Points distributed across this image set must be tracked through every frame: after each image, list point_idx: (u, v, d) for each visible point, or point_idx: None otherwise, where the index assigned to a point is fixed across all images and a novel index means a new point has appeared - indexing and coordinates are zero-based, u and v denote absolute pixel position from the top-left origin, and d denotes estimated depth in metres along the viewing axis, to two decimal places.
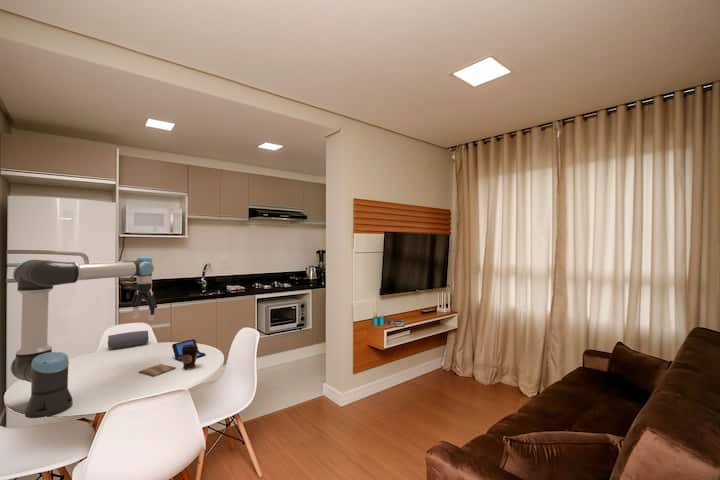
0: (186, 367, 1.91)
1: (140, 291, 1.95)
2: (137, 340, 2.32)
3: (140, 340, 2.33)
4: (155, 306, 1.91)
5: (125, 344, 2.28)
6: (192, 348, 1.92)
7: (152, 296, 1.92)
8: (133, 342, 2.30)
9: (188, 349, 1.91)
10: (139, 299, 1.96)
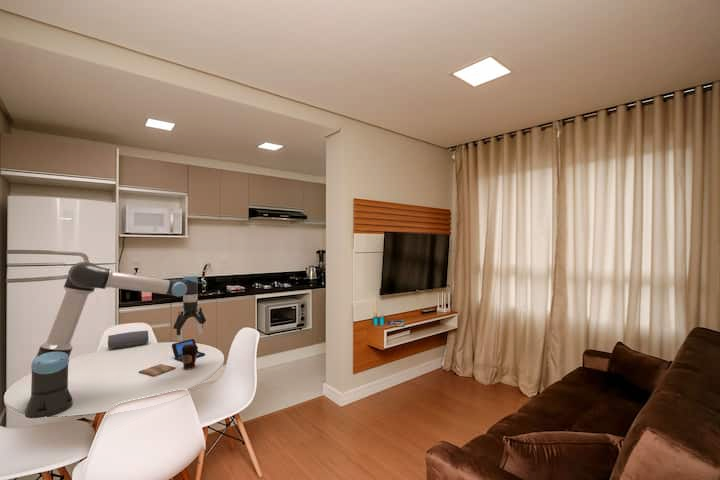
0: (186, 367, 1.91)
1: None
2: (137, 340, 2.32)
3: (140, 340, 2.33)
4: (175, 327, 1.85)
5: (125, 344, 2.28)
6: (192, 348, 1.92)
7: (179, 316, 1.88)
8: (133, 342, 2.30)
9: (188, 349, 1.91)
10: (194, 316, 1.98)
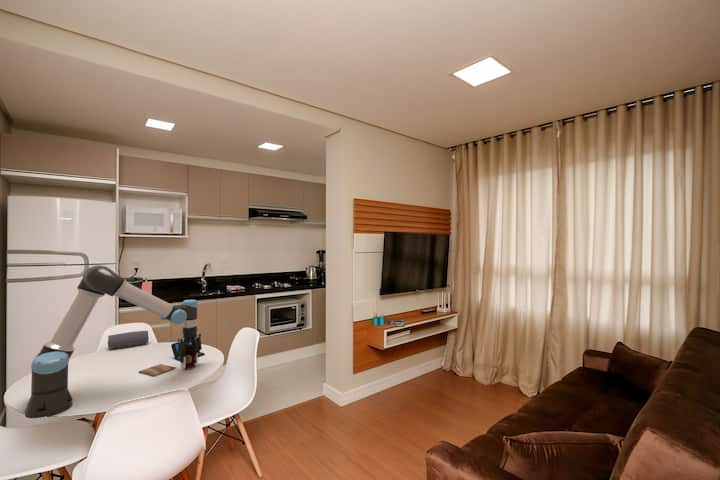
0: (186, 367, 1.91)
1: None
2: (137, 340, 2.32)
3: (140, 340, 2.33)
4: (178, 355, 1.88)
5: (125, 344, 2.28)
6: (192, 348, 1.92)
7: (180, 344, 1.88)
8: (133, 342, 2.30)
9: (188, 349, 1.91)
10: (192, 343, 1.97)
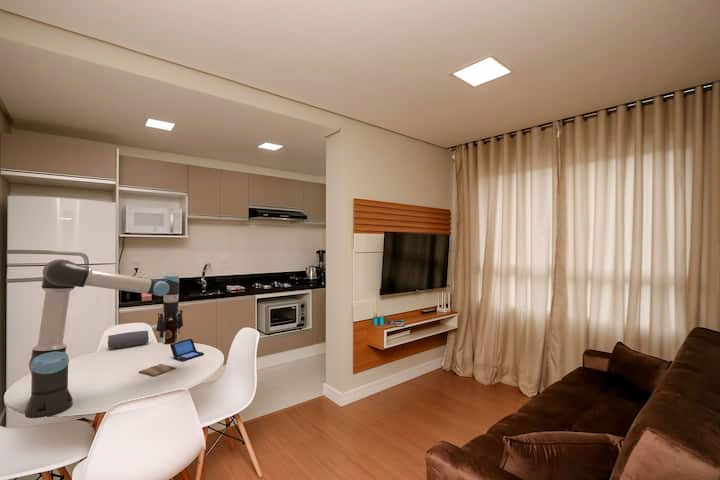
0: (166, 342, 1.88)
1: None
2: (137, 340, 2.32)
3: (140, 340, 2.33)
4: (158, 329, 1.84)
5: (125, 344, 2.28)
6: (172, 323, 1.89)
7: (160, 318, 1.85)
8: (133, 342, 2.30)
9: (168, 324, 1.87)
10: (173, 318, 1.93)
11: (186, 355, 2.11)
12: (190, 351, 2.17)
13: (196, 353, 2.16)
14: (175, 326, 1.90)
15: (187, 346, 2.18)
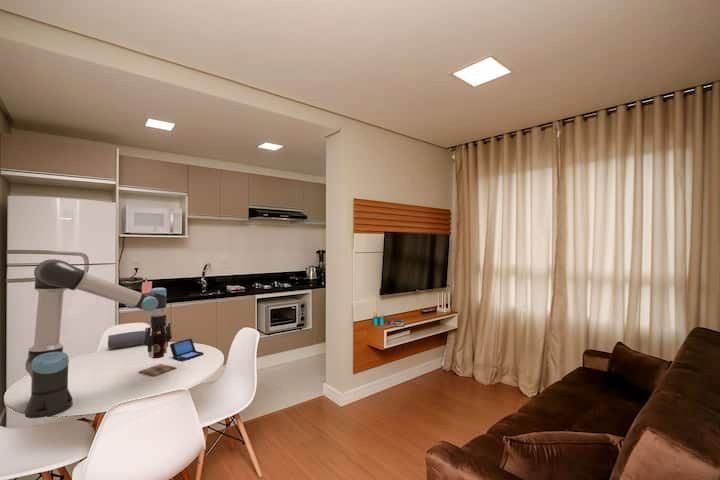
0: (154, 357, 1.86)
1: None
2: (137, 340, 2.32)
3: (140, 340, 2.33)
4: (145, 344, 1.82)
5: (125, 344, 2.28)
6: (160, 337, 1.87)
7: (147, 333, 1.83)
8: (133, 342, 2.30)
9: (156, 338, 1.86)
10: (161, 332, 1.91)
11: (186, 355, 2.12)
12: (189, 351, 2.18)
13: (196, 353, 2.16)
14: (163, 340, 1.88)
15: (186, 346, 2.18)
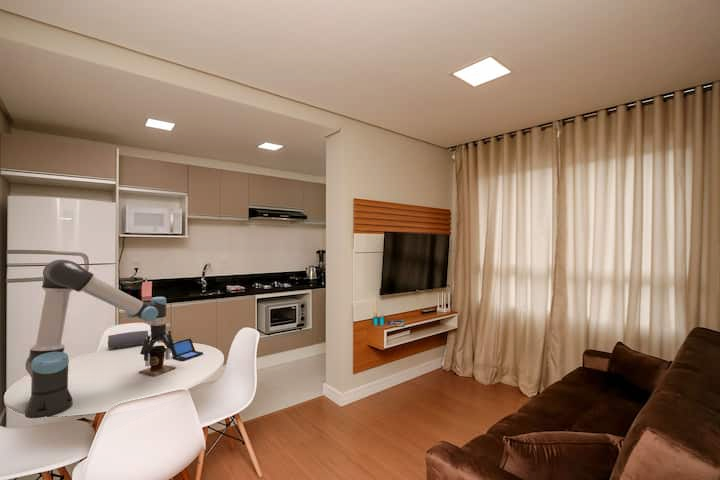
0: (153, 369, 1.85)
1: None
2: (137, 340, 2.32)
3: (140, 340, 2.33)
4: (142, 352, 1.81)
5: (125, 344, 2.28)
6: (159, 350, 1.86)
7: (146, 341, 1.83)
8: (133, 342, 2.30)
9: (155, 351, 1.85)
10: (162, 340, 1.92)
11: (185, 355, 2.12)
12: (189, 351, 2.18)
13: (195, 353, 2.16)
14: (162, 352, 1.88)
15: (186, 346, 2.18)
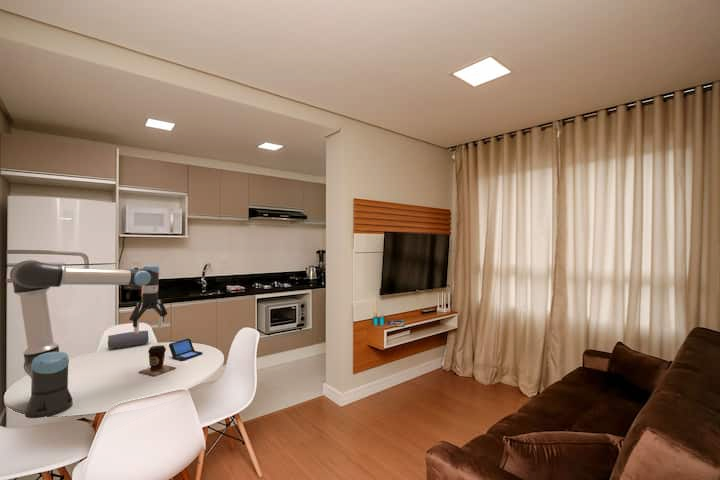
0: (153, 369, 1.85)
1: None
2: (137, 340, 2.32)
3: (140, 340, 2.33)
4: (131, 318, 1.78)
5: (125, 344, 2.28)
6: (159, 350, 1.86)
7: (137, 307, 1.80)
8: (133, 342, 2.30)
9: (155, 351, 1.85)
10: None
11: (185, 355, 2.12)
12: (188, 351, 2.18)
13: (195, 353, 2.16)
14: (162, 352, 1.88)
15: (185, 346, 2.18)
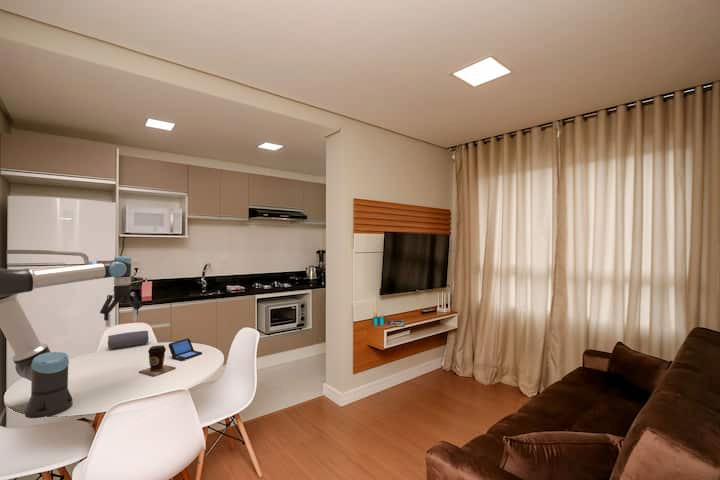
0: (153, 369, 1.85)
1: None
2: (137, 340, 2.32)
3: (140, 340, 2.33)
4: (101, 311, 1.71)
5: (125, 344, 2.28)
6: (159, 350, 1.86)
7: (107, 300, 1.74)
8: (133, 342, 2.30)
9: (155, 351, 1.85)
10: (128, 301, 1.84)
11: (184, 355, 2.12)
12: (188, 351, 2.18)
13: (194, 352, 2.17)
14: (162, 352, 1.88)
15: (185, 346, 2.18)
